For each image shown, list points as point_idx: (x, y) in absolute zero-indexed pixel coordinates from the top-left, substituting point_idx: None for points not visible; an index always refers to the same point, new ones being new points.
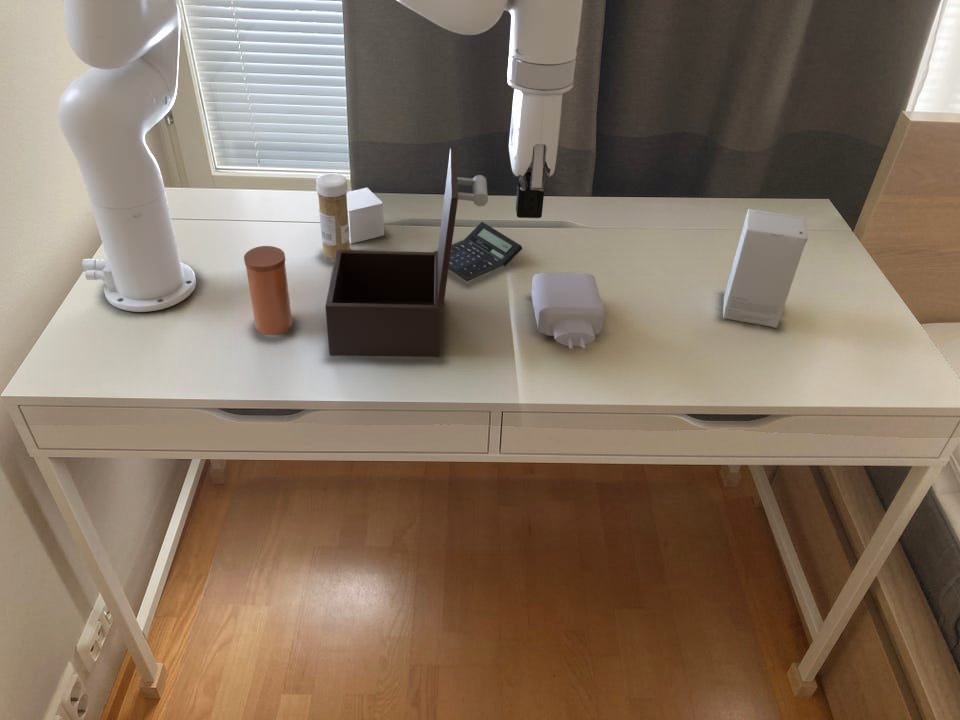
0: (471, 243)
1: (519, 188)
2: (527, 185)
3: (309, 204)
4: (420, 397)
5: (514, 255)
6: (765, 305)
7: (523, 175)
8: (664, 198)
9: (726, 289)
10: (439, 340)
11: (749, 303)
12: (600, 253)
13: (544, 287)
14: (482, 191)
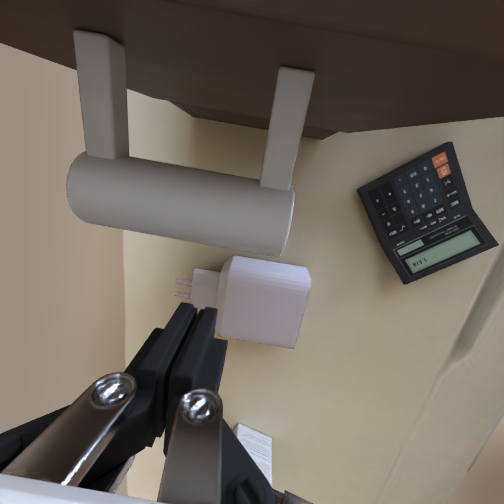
0: (456, 217)
1: (142, 372)
2: (20, 428)
3: None
4: None
5: (395, 269)
6: None
7: (12, 463)
8: (471, 462)
9: (263, 448)
10: (182, 109)
11: None
12: (380, 366)
13: (273, 285)
14: (88, 204)
